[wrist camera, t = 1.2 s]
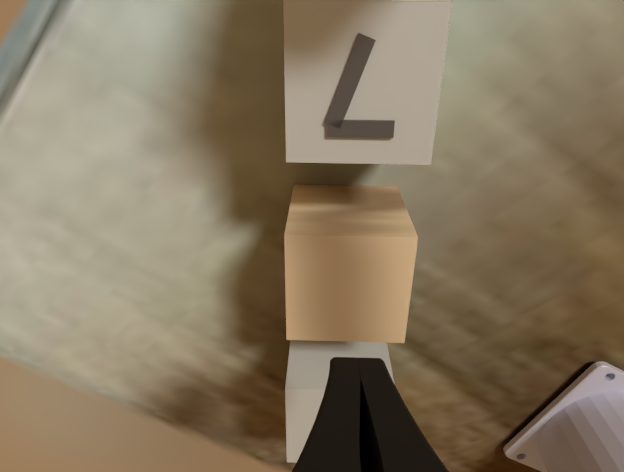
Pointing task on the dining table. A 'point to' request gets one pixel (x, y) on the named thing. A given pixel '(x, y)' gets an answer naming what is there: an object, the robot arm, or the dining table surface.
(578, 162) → the dining table surface
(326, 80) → the marked block 7
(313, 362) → the marked block 1
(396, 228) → the plain block
